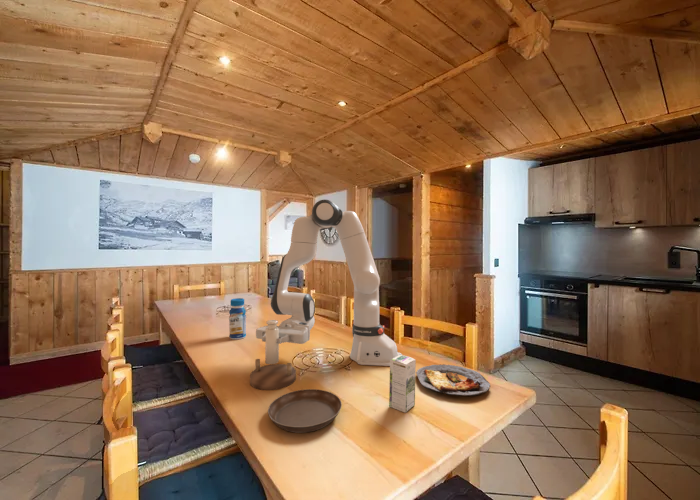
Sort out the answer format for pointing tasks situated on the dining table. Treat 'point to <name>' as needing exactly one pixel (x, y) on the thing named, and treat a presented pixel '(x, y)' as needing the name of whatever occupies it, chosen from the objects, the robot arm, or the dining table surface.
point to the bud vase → (272, 343)
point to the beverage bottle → (237, 319)
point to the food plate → (452, 380)
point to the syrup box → (402, 383)
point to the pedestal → (272, 376)
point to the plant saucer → (304, 410)
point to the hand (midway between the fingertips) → (270, 340)
